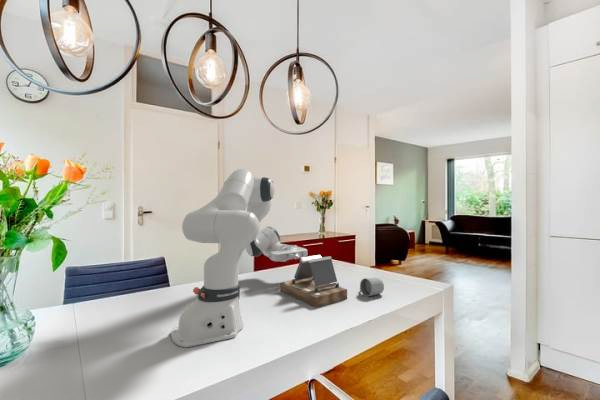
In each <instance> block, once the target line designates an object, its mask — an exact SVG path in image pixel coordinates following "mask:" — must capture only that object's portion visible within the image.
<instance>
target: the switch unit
mask: <svg viewBox="0 0 600 400" xmlns="http://www.w3.org/2000/svg"><path fill="white" fill-rule="evenodd" d="M279 285H280V292H281V293H283V294H285V295H288V296H290V297H293V298H294V299H297V300H299V301H302V302H304V303H306V304H308V305H310V306H312V307H315V308H319V307H323V306H326V305H329V304H333V303H337V302H340V301H344V300H348V289H347V288H344V287H342V286H340V284H339V281H337V282H333V283H329V284H325V285H321V286H316V287H315V283H314V279H313V277H308V278H304V279H299V280H296V279H295V278H293V279H291V280H287V281H282V282H279Z"/></svg>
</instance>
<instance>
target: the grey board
mask: <svg viewBox="0 0 600 400" xmlns="http://www.w3.org/2000/svg"><path fill="white" fill-rule="evenodd" d="M316 258H322V256H321V254H317V255H309V256H307V257H301V258H299V263H298V265H297V268H296V271H295V274H294V276H293V279H296V280H299V279H304V278H308V277H313V275H312V270H311V266H310V263H309V260H311V259H316Z"/></svg>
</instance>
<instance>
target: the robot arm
mask: <svg viewBox="0 0 600 400" xmlns="http://www.w3.org/2000/svg"><path fill="white" fill-rule="evenodd" d="M275 189H276V188H275V184H274V181H273V180H272V179H271V178H270V177H258V176H254V175H253V173H251V172H250V171H249V170H247V169H246V168H245V169H244V168H238V169H236V170H234V171H233V172H232V173H231V174H229V176H228V177H227V179H226V180H225V181H224V183H223V185H222V187H221V189H220V190H219V192H218V194H217V195H216V196H215V198H213V199H212V200H210V201H209V202H208V203H207V204H205V205H203V206H202V207H200V208H197V209H196V210H193V211H191V212H188V213H187V214H186V215H185V217H184V218H183V220H182V225H181V229H182V234H183V235H184V237H185V239H187V240H188V241H191V242H195V243H200V244H219V251H218V252H216V253H215V254H212V255H210V256H209V257H208V258H207V259H206V260H205V262H204V263H203V286H201V288H199V287H198V286H195V287H193V289H192V292H193V293H194V294H195V295H197V299H196V300H195V301H193V302H192V304H190V305H189V306H188V307H187V308H186V309H185V310H184V311H183V312H182V313H181V314H180V315H179V320H178V326H177V327H174V328H172V330H171V331H170V338H171V340H172V342H173V343H174V344H175V345H177V346H179V347H182V348H190V347H194V346H200V345H204V344H209V343H215V342H219V341H223V340H228V339H233V338H236V337H237V336H238V333H239V332H240V331H241V330H242V329H243V328H244V322H243V318H242V315H241V307H240V296H241V290H240V288H241V287H240V283H239V268H240V267H239V266H240V260H241V257H242V254H243V253H244V251H246V253H247V254H248V255H249V256H251V257H255V258H257V257H259V256H261V254H263V255H264V256H265V257H267V258H269V260H271V261H273V262H282V263H283V262H285V263H286V262H287V261H290V260H293V259H294V260H298V259H299V260H300V259H301V258H302V257H308V249H307V248H305V247H300V246H298V245H296V244H285V243H281V237H280V234H279V232H278V231H277V230H276V228H273V227H272V226H265V227H263V228H262V229H261V230H260V228H261V227H260V222H261V221H263V219H264V218H265V217H266V216H267V215H268V214H269V212H270V211H271V206H272V204H271V200H273V198H274V194H275Z"/></svg>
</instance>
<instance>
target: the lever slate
mask: <svg viewBox="0 0 600 400" xmlns="http://www.w3.org/2000/svg"><path fill="white" fill-rule="evenodd" d="M321 257H322V256H321ZM309 263H310V266H311V270H312V275H313V279H314V283H315V287H316V286H321V285H325V284H329V283H330V284H333V283H337V282H338V279H337V276H336V275H337V274H336V271H335V268H334V264H333V260H332V256H323V257H322V258H316V259H311V260H309Z"/></svg>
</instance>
